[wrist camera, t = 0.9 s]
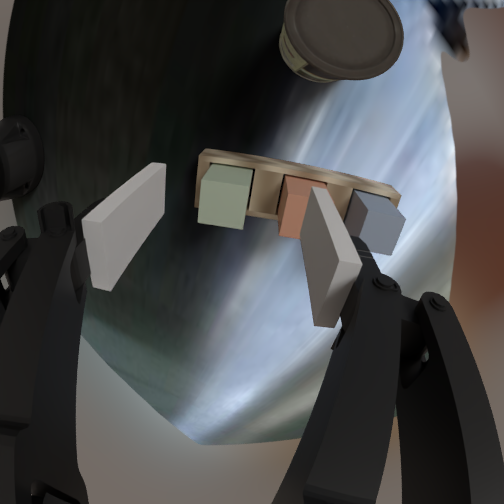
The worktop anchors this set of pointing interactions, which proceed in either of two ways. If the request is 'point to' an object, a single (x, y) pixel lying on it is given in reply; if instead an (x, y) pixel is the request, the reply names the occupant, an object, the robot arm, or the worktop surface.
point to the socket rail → (272, 175)
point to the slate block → (374, 221)
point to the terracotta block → (295, 204)
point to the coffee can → (340, 38)
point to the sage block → (224, 195)
